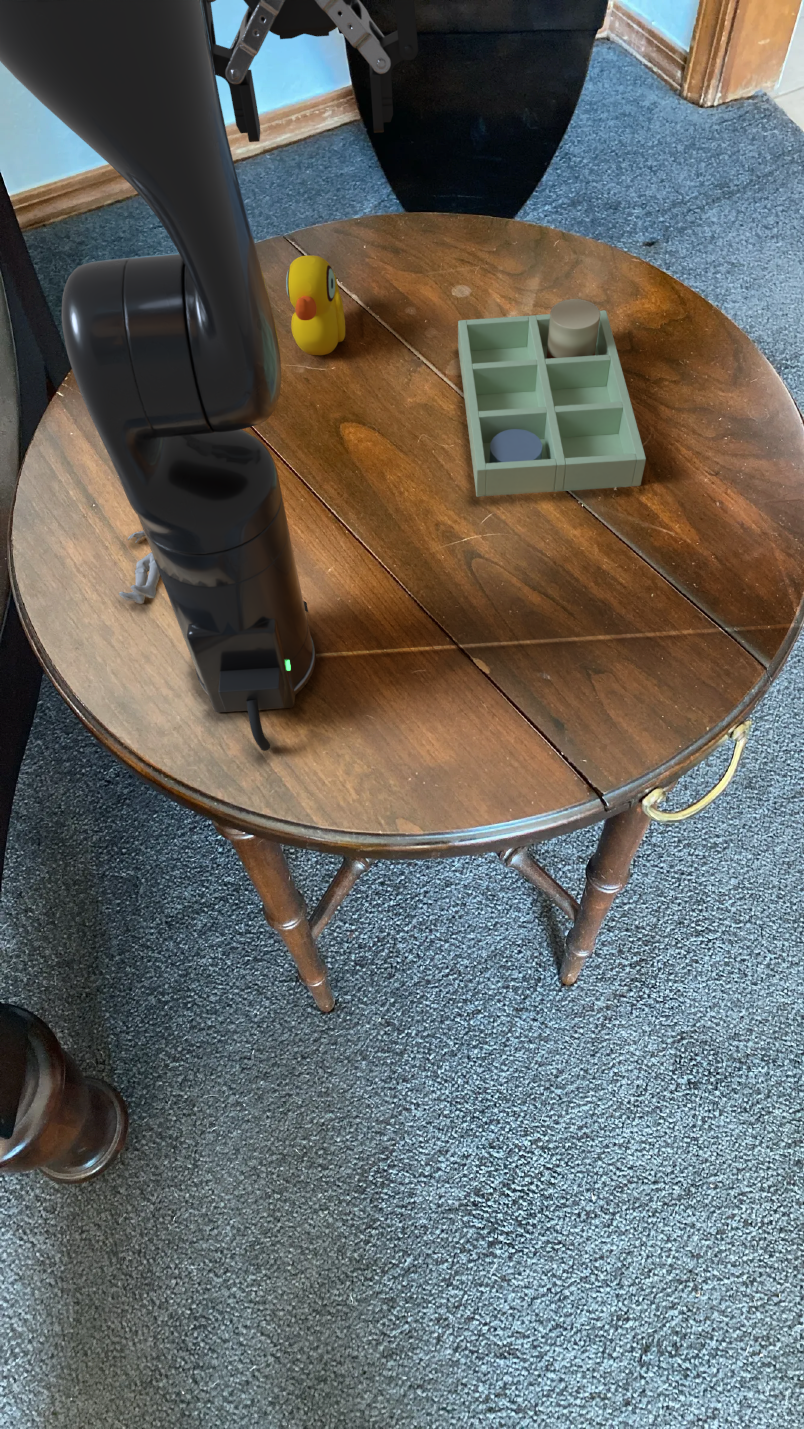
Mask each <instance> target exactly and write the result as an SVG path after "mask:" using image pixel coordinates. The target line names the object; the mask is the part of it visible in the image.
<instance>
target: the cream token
mask: <svg viewBox="0 0 804 1429" xmlns="http://www.w3.org/2000/svg"><path fill="white" fill-rule="evenodd" d="M600 311H601V310H600V308H598V306H597V305H596V304H594V303H593V302H592V301H588V300H585V299H581V298H568V299H564V300H561V301H559V302H557V303H556V304H554V305H553V306H552V307H551V310H550V311H549V312H550V313H549V314H550V322H549V333H548V345H547V348H548V351H549V353H550V354H551V355H552V356H553V357H555V358H565V357H580V356H592V355H593V354H594V352H595V350H596V344H597V336H598V329H599V322H600Z"/></svg>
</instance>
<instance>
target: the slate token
mask: <svg viewBox="0 0 804 1429" xmlns="http://www.w3.org/2000/svg"><path fill="white" fill-rule="evenodd" d="M541 457H542V443H541V441H540V439H539V438H538V437H537V436H536V435H535V434H533V433H531V432H529V431H526V430H521V429H510V430H506V431H503V432H501V433H499V434H497V435H496V436H495V437H494V438H493V439H492V441H491V443H490V459H489V463H499V462H514V461H529V460H541Z"/></svg>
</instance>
